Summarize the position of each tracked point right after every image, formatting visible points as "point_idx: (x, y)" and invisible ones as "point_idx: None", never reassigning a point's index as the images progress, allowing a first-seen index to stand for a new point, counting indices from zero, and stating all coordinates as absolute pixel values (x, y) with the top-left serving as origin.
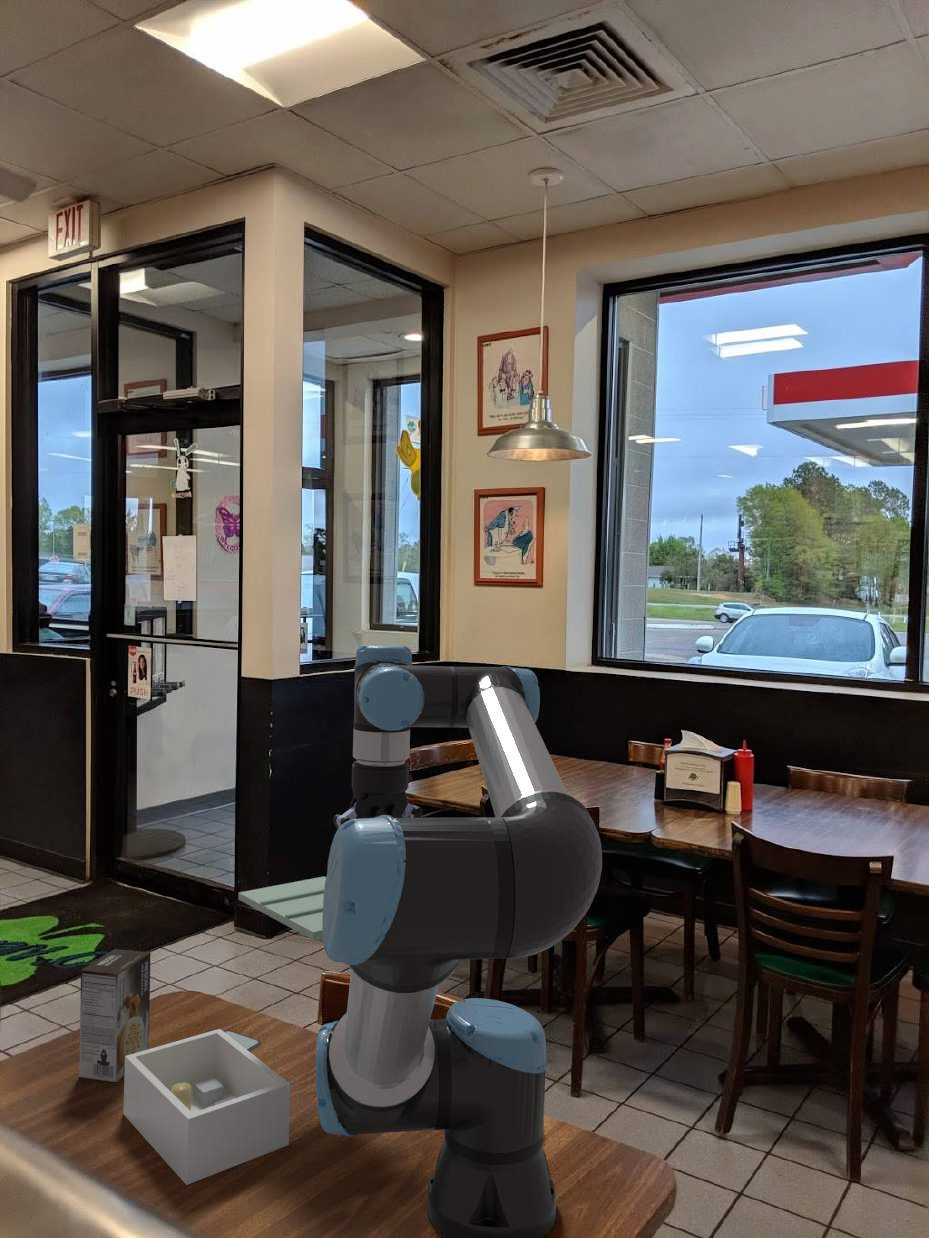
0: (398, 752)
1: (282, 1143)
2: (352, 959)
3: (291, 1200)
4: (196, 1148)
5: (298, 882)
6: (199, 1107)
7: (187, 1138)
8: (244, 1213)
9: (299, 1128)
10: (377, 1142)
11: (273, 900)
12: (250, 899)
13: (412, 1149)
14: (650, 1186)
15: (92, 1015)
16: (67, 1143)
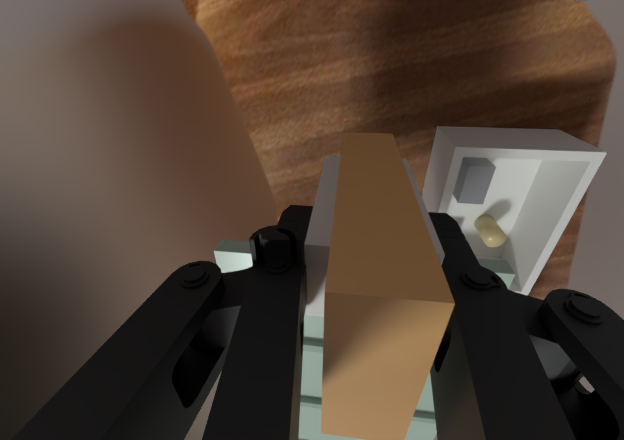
0: None
1: (445, 127)
2: None
3: (514, 27)
4: (568, 139)
5: (310, 436)
6: (460, 225)
7: (590, 144)
8: (566, 40)
9: (407, 145)
10: (364, 66)
11: (421, 417)
12: (434, 435)
13: (343, 24)
14: None
15: None
16: (565, 250)
